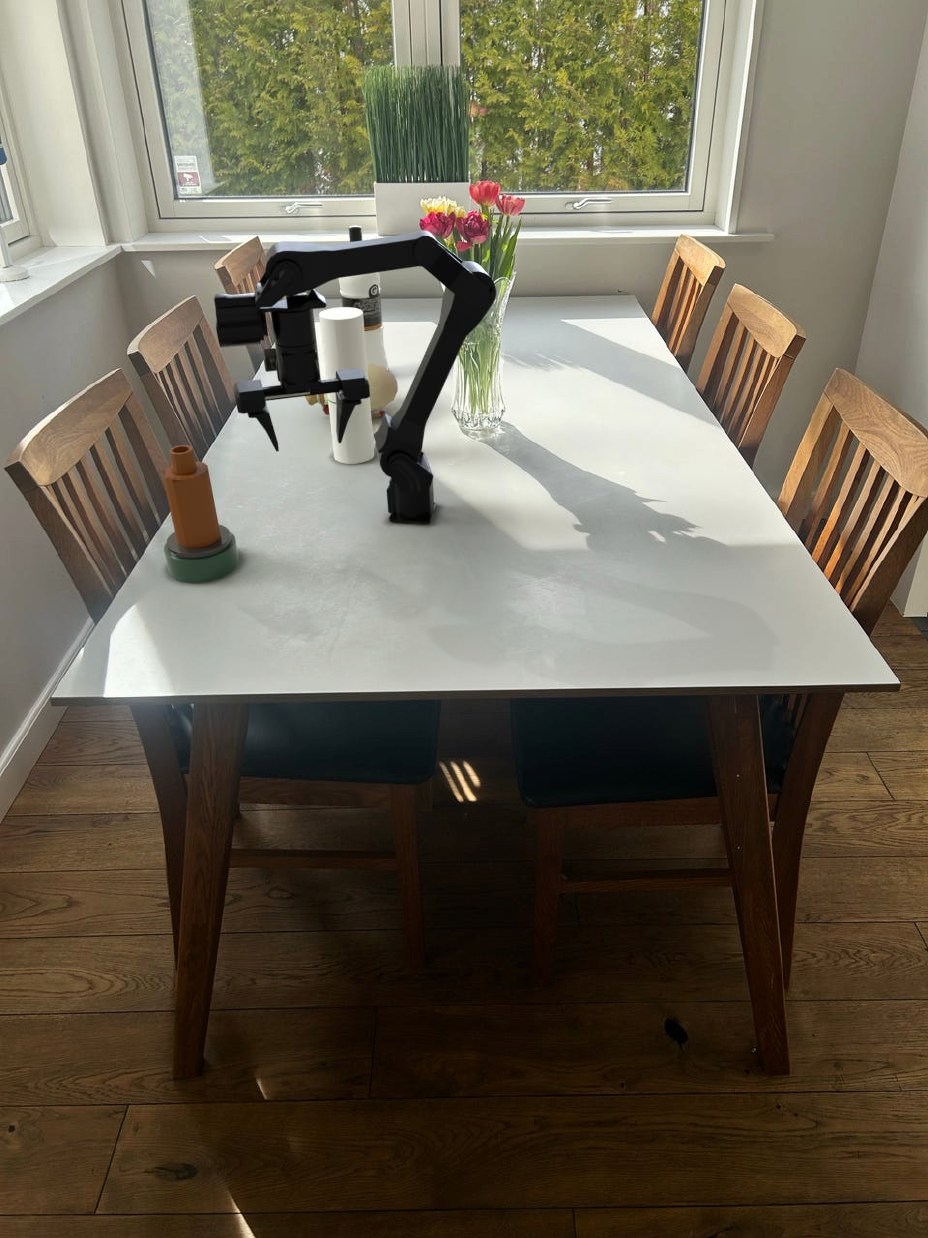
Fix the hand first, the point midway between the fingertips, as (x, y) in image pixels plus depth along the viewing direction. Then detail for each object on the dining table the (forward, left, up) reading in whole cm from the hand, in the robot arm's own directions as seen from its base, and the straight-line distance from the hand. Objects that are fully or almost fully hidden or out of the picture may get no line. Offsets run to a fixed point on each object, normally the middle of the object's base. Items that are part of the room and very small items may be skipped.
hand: (308, 446), depth 139 cm
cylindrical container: (+1, -26, -13) cm, 29 cm away
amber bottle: (+13, +14, -8) cm, 21 cm away
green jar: (+13, +14, -13) cm, 23 cm away
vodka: (+9, -68, -13) cm, 70 cm away
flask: (+6, -45, -13) cm, 47 cm away
